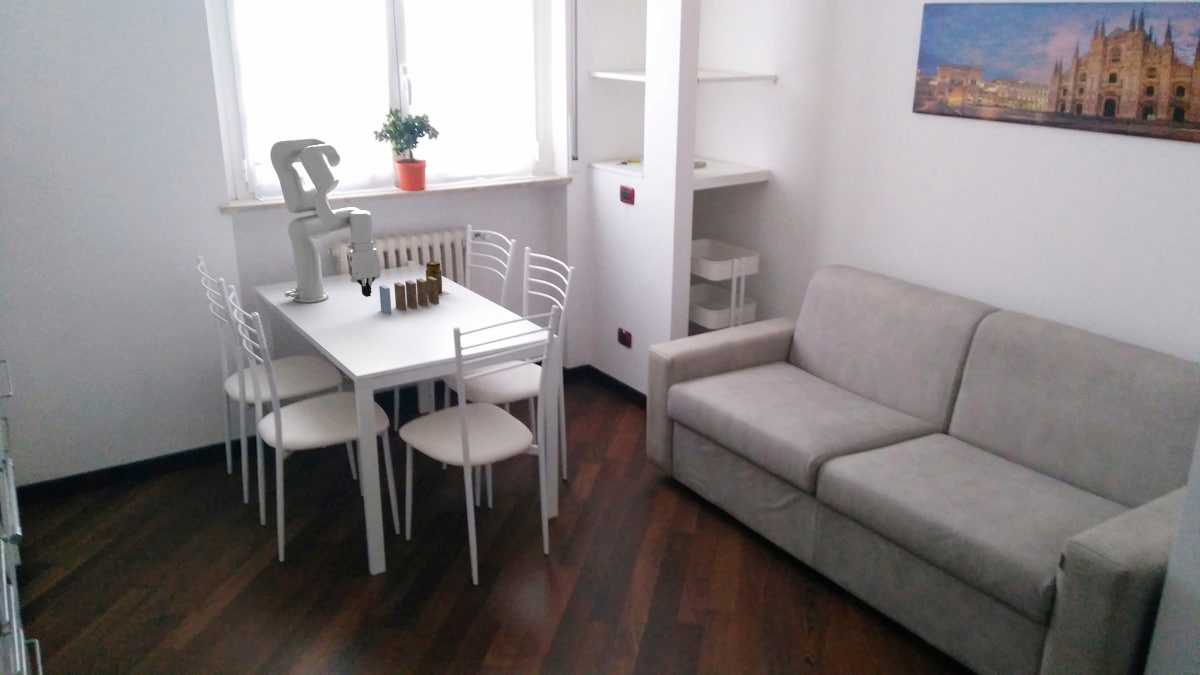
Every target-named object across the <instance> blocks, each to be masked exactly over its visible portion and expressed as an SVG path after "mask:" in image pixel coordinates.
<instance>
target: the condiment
mask: <svg viewBox="0 0 1200 675" xmlns="http://www.w3.org/2000/svg"><path fill="white" fill-rule="evenodd" d="M427 277H434V278H436V279H438V294H439V296H444V295H447V294H449V292H447V291H445V290H443V278H442V277H443V276H442V269H441V263H440V262H438V261H428V262H426V269H425V281H427ZM427 292H428V283H427Z"/></svg>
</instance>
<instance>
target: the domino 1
mask: <svg viewBox="0 0 1200 675" xmlns="http://www.w3.org/2000/svg"><path fill="white" fill-rule="evenodd" d="M378 286H379V287H378V288H379V289H378V290H379V299H380V301H379V302H380V303H379V304H380V311H381V312H383V313H385V314H386V315H388V314H392V302H391V300H392V299H391V288H390V287H389V286H386V285H385V284H380V285H378Z"/></svg>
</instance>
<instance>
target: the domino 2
mask: <svg viewBox="0 0 1200 675" xmlns="http://www.w3.org/2000/svg"><path fill="white" fill-rule="evenodd" d="M393 284H394V287H393V288H394V297H395V298H394V300H395V309H398V310H399V311H401V312H403V311H406V310H407V299H406V284H404V283H401V282H399V281H397V282H394V283H393Z"/></svg>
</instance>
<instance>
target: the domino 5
mask: <svg viewBox="0 0 1200 675" xmlns="http://www.w3.org/2000/svg"><path fill="white" fill-rule="evenodd" d="M427 283H428V303H431V304H433V305H438V304H440V299H439V296H440V295H439V294H438V279H436V278H434V277H427Z"/></svg>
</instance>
